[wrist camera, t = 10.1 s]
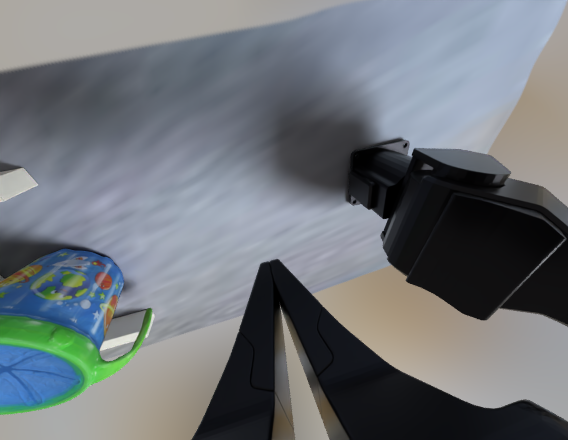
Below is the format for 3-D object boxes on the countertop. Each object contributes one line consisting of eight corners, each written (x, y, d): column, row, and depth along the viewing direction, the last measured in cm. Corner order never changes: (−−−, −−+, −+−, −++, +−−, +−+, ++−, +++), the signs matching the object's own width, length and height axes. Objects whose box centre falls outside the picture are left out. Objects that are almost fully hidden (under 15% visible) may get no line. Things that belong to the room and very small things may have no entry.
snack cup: (-30, 282, 20) (-221, 421, 11) (-11, 201, 17) (-258, 312, 8) (143, 316, 27) (104, 415, 19) (179, 264, 24) (150, 356, 16)
